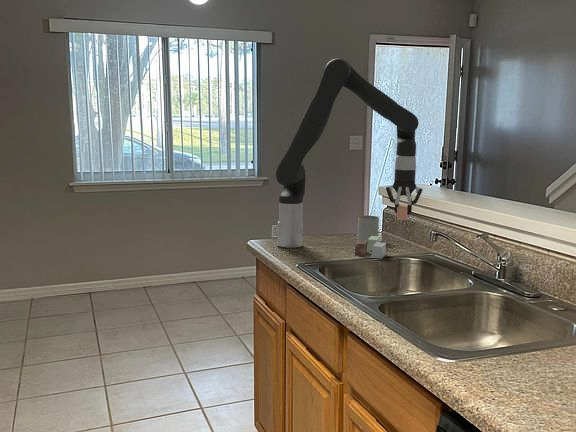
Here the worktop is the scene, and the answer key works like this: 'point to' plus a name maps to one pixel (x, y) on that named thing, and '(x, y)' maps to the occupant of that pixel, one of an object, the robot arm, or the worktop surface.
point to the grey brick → (379, 250)
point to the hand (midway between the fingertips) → (403, 214)
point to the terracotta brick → (402, 212)
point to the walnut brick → (361, 247)
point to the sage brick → (372, 242)
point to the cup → (367, 227)
